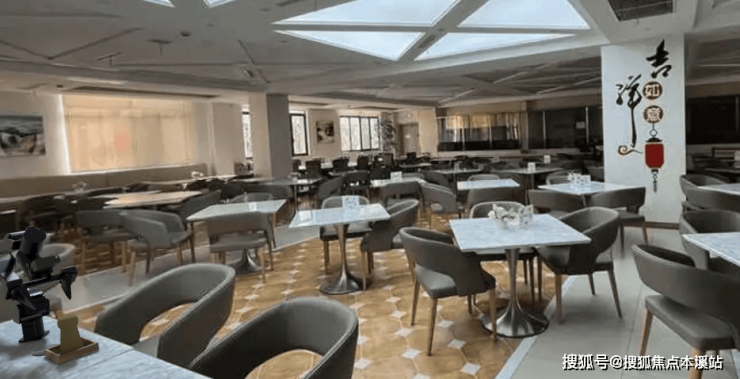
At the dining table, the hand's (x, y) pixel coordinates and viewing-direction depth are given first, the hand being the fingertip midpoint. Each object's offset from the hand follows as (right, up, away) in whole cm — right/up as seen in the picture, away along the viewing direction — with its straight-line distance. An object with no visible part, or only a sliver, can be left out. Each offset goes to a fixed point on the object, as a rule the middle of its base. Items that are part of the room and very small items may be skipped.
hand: (53, 303), depth 139 cm
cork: (+7, -14, -3) cm, 16 cm away
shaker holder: (+7, -13, -3) cm, 16 cm away
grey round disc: (-2, -14, 0) cm, 14 cm away
